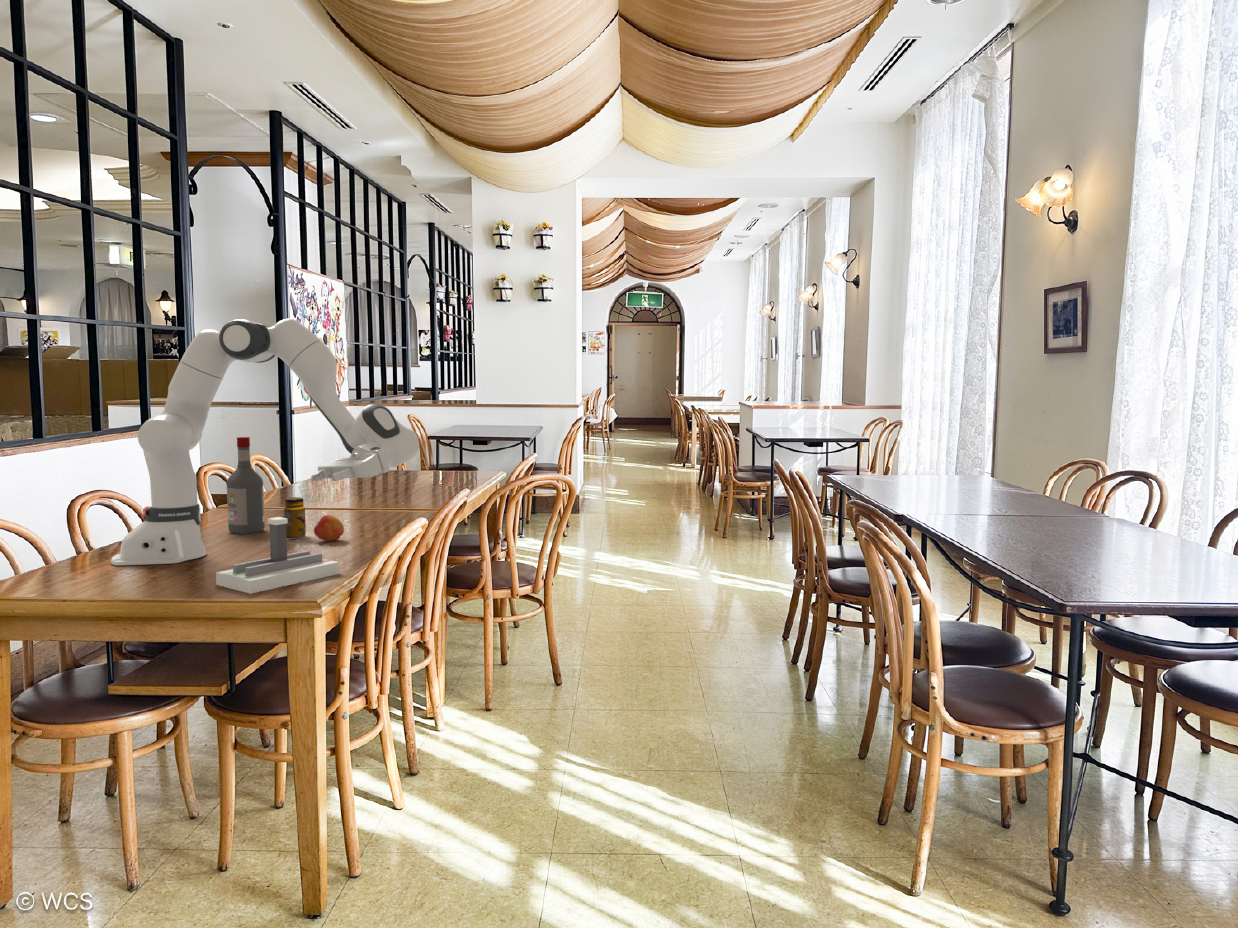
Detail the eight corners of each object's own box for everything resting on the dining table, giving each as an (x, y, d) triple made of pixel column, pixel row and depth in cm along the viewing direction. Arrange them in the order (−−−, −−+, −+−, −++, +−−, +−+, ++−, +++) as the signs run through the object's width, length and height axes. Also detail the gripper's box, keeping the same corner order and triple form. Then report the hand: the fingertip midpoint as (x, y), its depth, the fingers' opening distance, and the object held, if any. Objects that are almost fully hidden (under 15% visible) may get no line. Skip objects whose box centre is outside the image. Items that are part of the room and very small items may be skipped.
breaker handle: (278, 568, 200) (276, 520, 198) (269, 566, 202) (267, 518, 200) (289, 566, 202) (287, 518, 201) (280, 564, 204) (278, 516, 203)
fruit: (321, 538, 253) (320, 512, 252) (347, 538, 253) (346, 512, 252) (311, 543, 245) (310, 516, 245) (338, 543, 245) (337, 517, 244)
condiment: (311, 536, 256) (309, 498, 254) (283, 540, 250) (282, 501, 248) (301, 533, 261) (299, 495, 260) (274, 537, 255) (272, 498, 254)
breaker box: (250, 593, 188) (249, 572, 188) (216, 584, 196) (215, 564, 196) (339, 573, 208) (338, 554, 208) (305, 566, 216) (304, 547, 215)
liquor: (242, 535, 257) (238, 438, 254) (225, 531, 262) (221, 437, 259) (268, 530, 265) (265, 437, 262) (251, 527, 270) (247, 436, 267)
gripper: (341, 450, 226) (297, 467, 216) (386, 447, 213) (341, 465, 203) (349, 472, 228) (305, 490, 218) (393, 470, 215) (349, 489, 205)
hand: (323, 478), depth 210 cm, fingers open, 8 cm apart
